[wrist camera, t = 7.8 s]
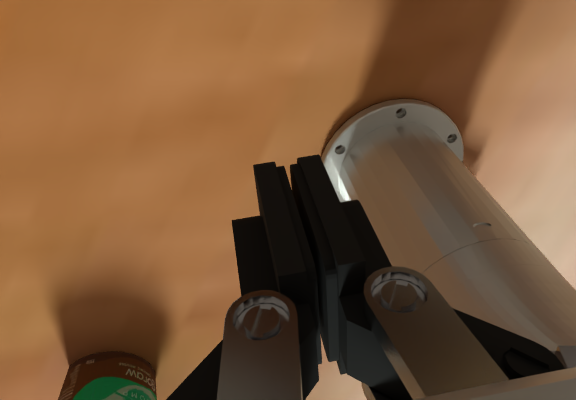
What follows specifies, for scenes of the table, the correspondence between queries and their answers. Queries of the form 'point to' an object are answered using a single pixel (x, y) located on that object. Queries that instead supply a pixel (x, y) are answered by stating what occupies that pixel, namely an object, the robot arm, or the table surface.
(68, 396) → the food container
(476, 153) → the table surface
